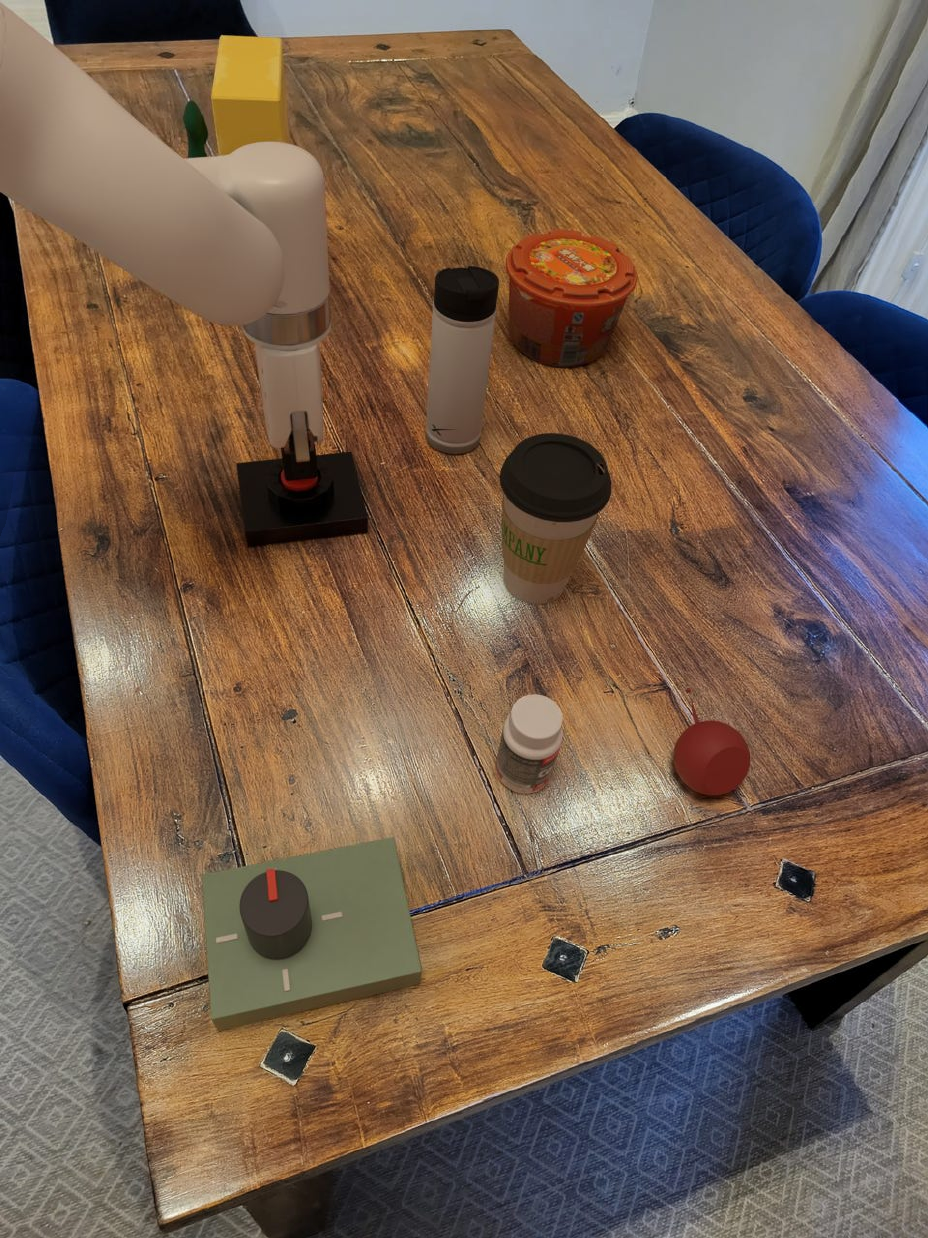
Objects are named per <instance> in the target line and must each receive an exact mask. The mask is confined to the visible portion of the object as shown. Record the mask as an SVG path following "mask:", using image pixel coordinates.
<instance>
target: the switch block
mask: <svg viewBox="0 0 928 1238" xmlns="http://www.w3.org/2000/svg"><path fill="white" fill-rule="evenodd" d="M316 459H317V473H318V484H317V486H315V487H313V488H311V489H309V490H307V491H297V492H296V491H293V490H289V489H286V488H285V487H283V486H282V480H281V473H282V471H283V462H282V458H274V459H264V460H253V461H244V462H236V463H235V466H236V473H237V474H236V475H237V482H238V489H239V490H238V491H239V497H240V505H241V512H242V514H241V515H242V521H243V529H244V535H245V536H244V537H245V541H246V547H247V548H254V547H262V546H269V545H277V544H285V543H286V544H287V543H288V544H289V543H294V542H303V541H312V540H319V539H320V540H321V539H330V538H337V537H346V536H353V535H362V534H368V533H369V516H368V512H367V507H366V505H365V500H364V497H363V492H362V487H361V485H360V480H359V476H358V471H357V468H356V464H355V458H354V456H353V453H352V451H343V452H333V453H332V452H331V453H322V454H316Z"/></svg>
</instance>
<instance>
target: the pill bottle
mask: <svg viewBox="0 0 928 1238" xmlns="http://www.w3.org/2000/svg"><path fill="white" fill-rule="evenodd" d="M563 720H564V719H563V712H562V710H561V708H560V706H559V705H558V704H557V703H556V702H555V701H554V700H553V699H551V698H549V697H548V696H546V695H542V694H537V693H535V694H534V693H533V694H527V695H524V696H521V697H520V698H519V699H518V700H516V701H515V702H514V704H513V705H512V708H511V711H510V714H509V715H508V716H507V718H506V719H505V721H504V724H503V727H502V731H501V736H500V741H499V746H498V751H497V755H496V760H495V772H496V775H497V778H498V780H499V781H500V782H501V783H502V785H503V786H505V787H506V788H507V789H509V790H511V791H512V792H515V793H519V794H527V795H529V794H534V793H536V792H539V791H541V790H542V789H543V788H544V787H546V785H547V784H548V783H549V781H550V779H551V777H552V774H553V771H554V768H555V765H556V762H557V759H558V756H559V753H560V749H561V746H562V744H563V737H564V733H563V728H562V726H563Z"/></svg>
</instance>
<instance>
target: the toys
mask: <svg viewBox="0 0 928 1238" xmlns="http://www.w3.org/2000/svg"><path fill="white" fill-rule="evenodd" d="M284 61H285V60H284V48H283V39H282V38H280V37H270V36H269V37H268V36H265V37H264V36H247V35H246V36H244V35H226V34H225V35H223V34H221V35H220V37H219V41H218V46H217V53H216V62H215V68H214V76H213V82H212V88H211V95H210V100H211V108H212V115H213V124H214V129H215V130H214V131H215V137H216V143H217V152H218V156H222V155H229V154H231V153H232V152H234V151H235V150H236V149H238V148H240V147H242V146H245V145H248V144H252V143H257V142H282V143H288V144H291V141H290V130H289V117H288V116H289V115H288V101H287V90H286V76H285V75H286V73H285V64H284V63H285V62H284ZM182 120H183V121H182V122H183V124H184V128H185V131H186V137H187V149H188V150H187V158H200V157H208V154H207V151H206V148H205V145H206V144H207V141H208V139H209V130H208V126H207V124H206V122H205V121H206V119H205V116H204V114H202V111H201V109H200V107H199V106H198V103H196V102H195V101H194V100H192V99H191V100H189V101H187V103H186V105H185V107H184V110H183V116H182Z"/></svg>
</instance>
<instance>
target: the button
mask: <svg viewBox="0 0 928 1238" xmlns="http://www.w3.org/2000/svg"><path fill="white" fill-rule="evenodd" d="M281 480H282V486H283V487H285V488H286V489H289V490H293V491H296V492H297V491H307V490H309V489H311V488H313V487H315V486H317V484H318V476H317V477H316V478H310V479H301V480H291V481H287V480H286V479H285V475H284V470H283V471H282V473H281Z"/></svg>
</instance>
